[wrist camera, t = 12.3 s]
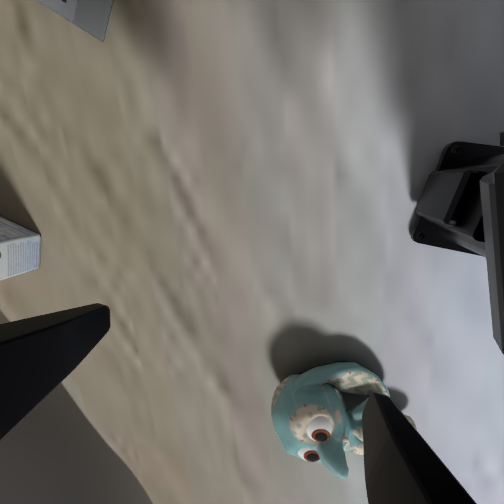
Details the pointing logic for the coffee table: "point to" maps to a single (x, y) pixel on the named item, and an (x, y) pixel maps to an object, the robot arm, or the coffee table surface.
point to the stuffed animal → (324, 413)
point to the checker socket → (83, 14)
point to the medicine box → (17, 249)
